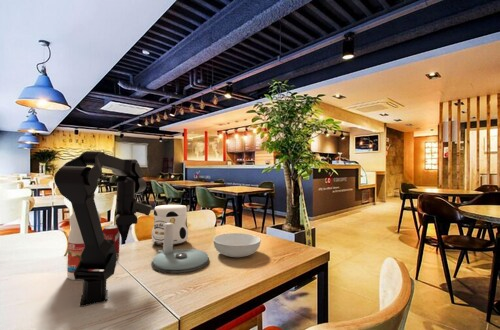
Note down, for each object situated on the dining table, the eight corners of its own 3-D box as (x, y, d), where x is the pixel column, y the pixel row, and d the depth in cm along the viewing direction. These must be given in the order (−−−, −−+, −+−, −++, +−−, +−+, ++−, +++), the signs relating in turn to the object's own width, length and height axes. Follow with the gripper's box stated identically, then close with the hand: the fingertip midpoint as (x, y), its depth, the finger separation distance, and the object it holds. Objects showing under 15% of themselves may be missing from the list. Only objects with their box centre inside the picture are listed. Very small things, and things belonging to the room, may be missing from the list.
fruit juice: (105, 272, 90) (108, 193, 90) (78, 283, 82) (81, 195, 82) (88, 267, 94) (90, 191, 94) (60, 277, 85) (63, 193, 86)
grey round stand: (198, 272, 89) (199, 234, 90) (136, 267, 92) (137, 231, 92) (213, 252, 110) (214, 222, 110) (163, 249, 113) (164, 219, 113)
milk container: (149, 249, 115) (150, 210, 116) (152, 239, 132) (153, 204, 132) (189, 247, 120) (189, 209, 120) (187, 237, 137) (188, 203, 137)
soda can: (111, 258, 103) (112, 229, 104) (97, 257, 105) (97, 227, 105) (122, 253, 110) (123, 225, 110) (109, 252, 111) (110, 224, 112)
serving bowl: (268, 259, 107) (268, 242, 107) (219, 265, 99) (220, 247, 99) (250, 245, 126) (250, 231, 126) (208, 249, 118) (208, 234, 119)
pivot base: (217, 267, 97) (217, 254, 97) (156, 278, 86) (156, 263, 86) (198, 249, 118) (198, 238, 118) (147, 256, 107) (147, 244, 107)
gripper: (154, 197, 84) (153, 244, 84) (147, 192, 101) (146, 231, 101) (116, 198, 79) (115, 249, 79) (115, 192, 95) (114, 234, 95)
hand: (124, 240), depth 88 cm, fingers closed
